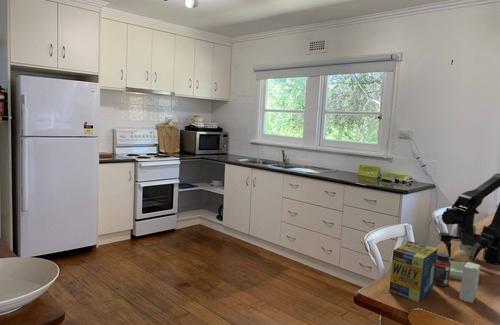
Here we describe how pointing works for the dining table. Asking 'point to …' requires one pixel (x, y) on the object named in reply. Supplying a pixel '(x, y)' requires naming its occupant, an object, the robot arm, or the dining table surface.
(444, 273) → the supplement bottle
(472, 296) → the skincare box
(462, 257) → the ball
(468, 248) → the energy drink can
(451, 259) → the holder
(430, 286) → the protein box
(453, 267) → the tray
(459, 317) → the dining table surface
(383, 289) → the dining table surface
